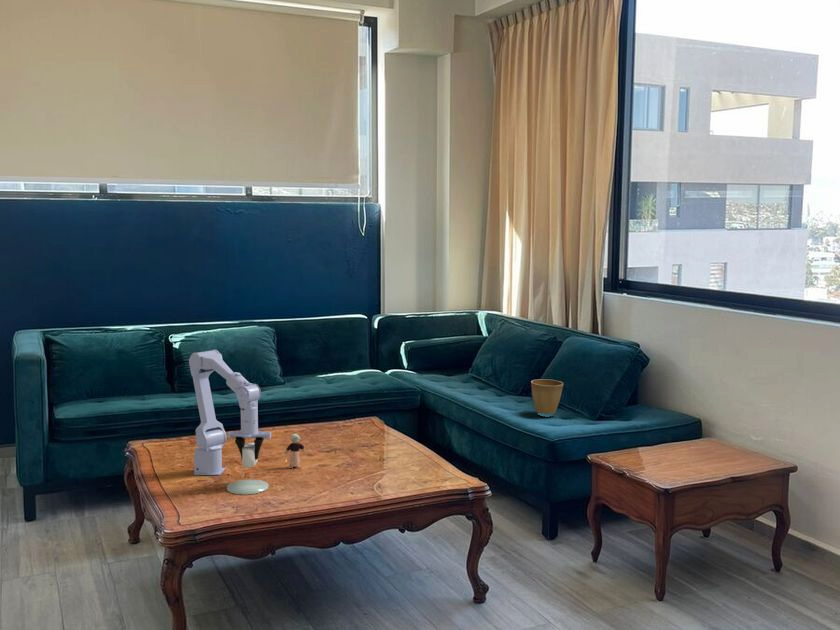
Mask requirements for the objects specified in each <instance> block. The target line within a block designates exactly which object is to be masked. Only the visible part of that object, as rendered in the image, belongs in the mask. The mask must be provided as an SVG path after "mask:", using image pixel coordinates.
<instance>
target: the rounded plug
mask: <svg viewBox="0 0 840 630" xmlns="http://www.w3.org/2000/svg"><path fill="white" fill-rule="evenodd" d="M258 459H259V458H258ZM258 459H257V460H256V459H255V444H254V442H247V443H246V444H245V446H244V447H243V448H242V458H241V460H242V467H244V468H252V467H255V466H256V464H257V462H258Z"/></svg>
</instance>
